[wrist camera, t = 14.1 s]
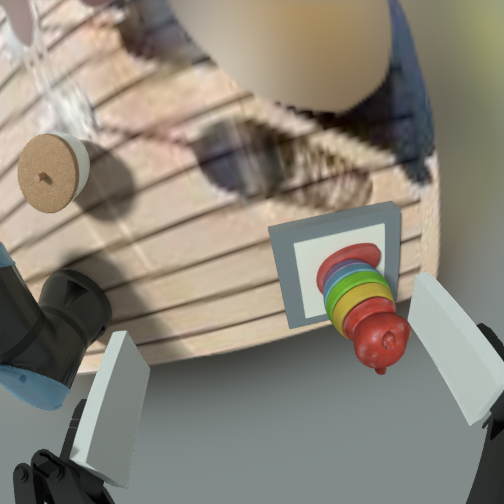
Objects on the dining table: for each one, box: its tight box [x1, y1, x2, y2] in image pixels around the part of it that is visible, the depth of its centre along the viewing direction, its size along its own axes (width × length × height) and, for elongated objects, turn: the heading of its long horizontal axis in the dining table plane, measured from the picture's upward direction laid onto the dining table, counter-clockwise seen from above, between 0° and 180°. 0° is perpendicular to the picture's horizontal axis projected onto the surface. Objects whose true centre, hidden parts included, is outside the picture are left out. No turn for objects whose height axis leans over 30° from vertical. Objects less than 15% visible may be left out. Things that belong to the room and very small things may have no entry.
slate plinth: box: [268, 201, 400, 329], centre depth 44 cm, size 20×18×3 cm
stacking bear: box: [316, 243, 411, 375], centre depth 35 cm, size 11×10×18 cm
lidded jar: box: [18, 133, 90, 213], centre depth 31 cm, size 11×11×9 cm
